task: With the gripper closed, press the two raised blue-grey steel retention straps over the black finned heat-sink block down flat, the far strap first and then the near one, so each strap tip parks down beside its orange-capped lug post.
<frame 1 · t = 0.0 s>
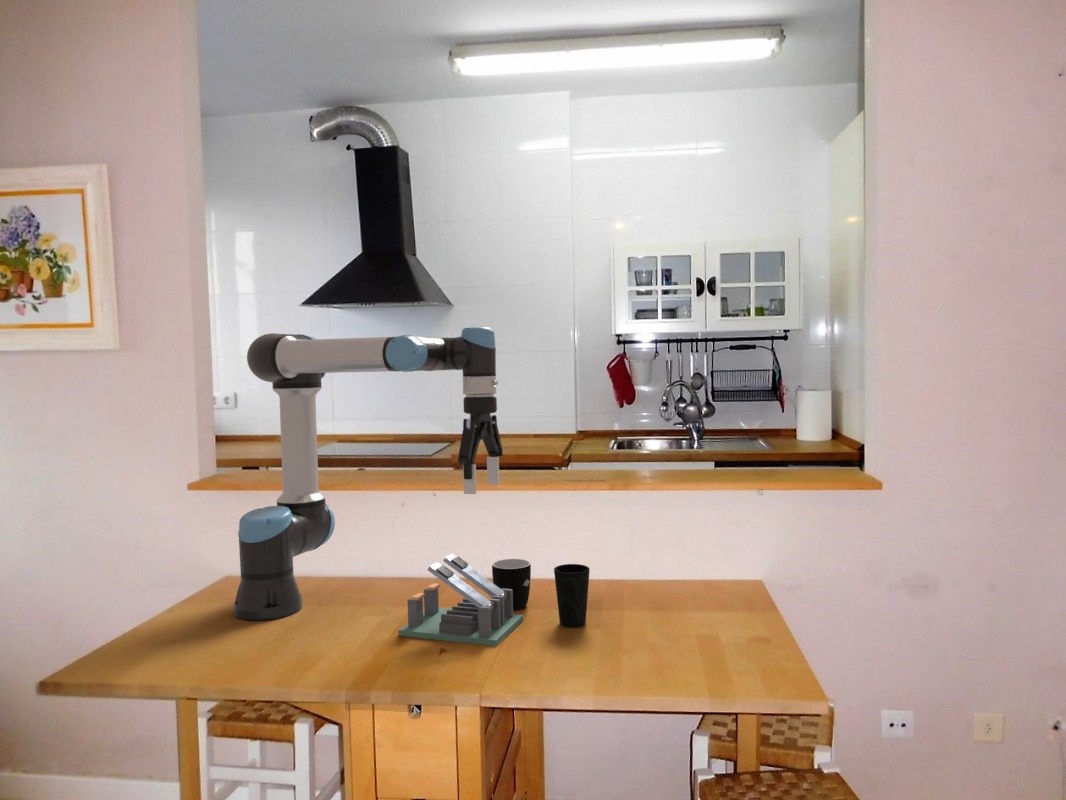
hand: (482, 489, 174), 28 cm above the table, fingers open, 13 cm apart
mug: (513, 605, 179), on the table
strap near: (462, 587, 159), point 10 cm above the table, hinge at 32.0°
strap far: (476, 577, 166), point 10 cm above the table, hinge at 32.0°
cup: (572, 624, 165), on the table
socket board: (462, 627, 163), on the table
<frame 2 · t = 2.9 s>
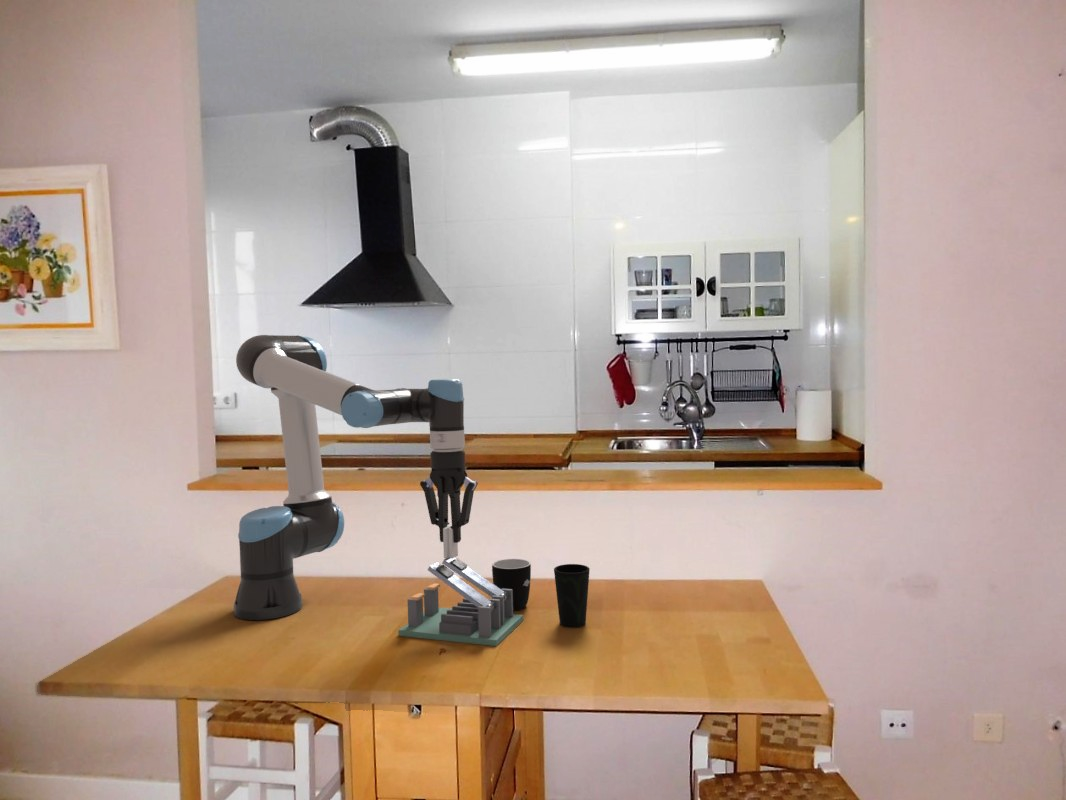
hand: (450, 556, 167), 14 cm above the table, fingers closed
strap far: (475, 578, 166), point 10 cm above the table, hinge at 29.8°, touching gripper
everything else where it was.
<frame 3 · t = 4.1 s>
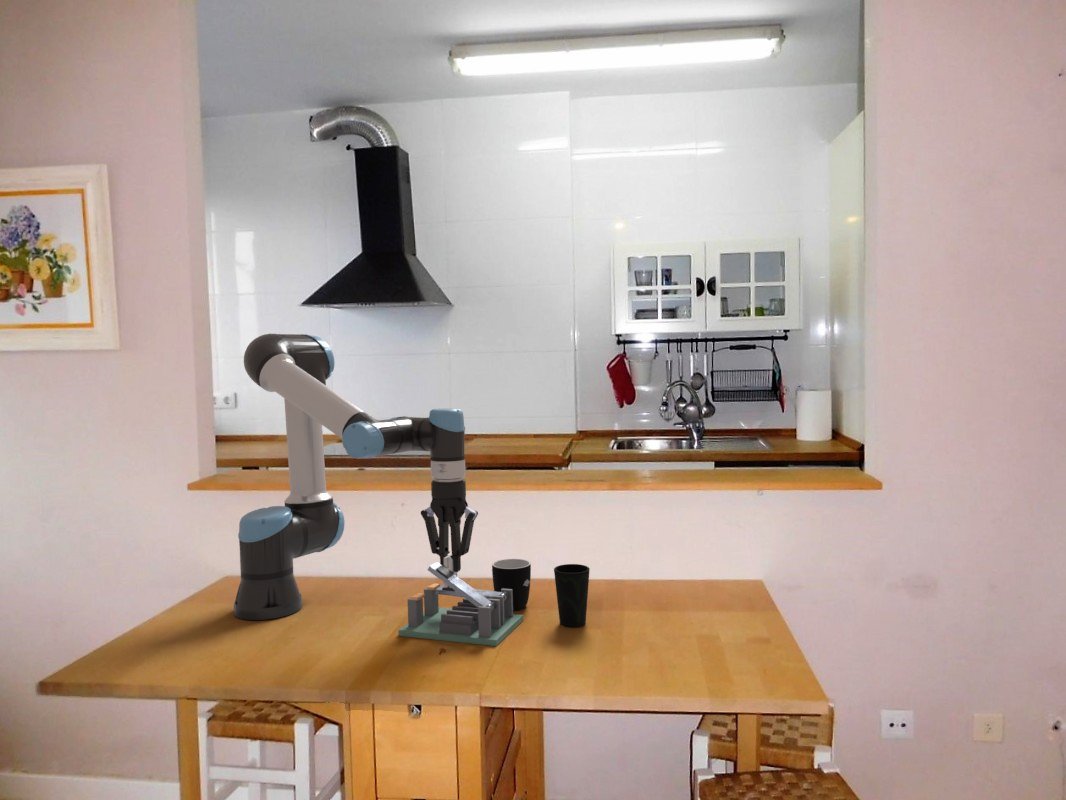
hand: (451, 585, 168), 8 cm above the table, fingers closed, pressing on strap far
strap far: (472, 593, 166), point 7 cm above the table, hinge at 2.5°, touching gripper
everything else where it was.
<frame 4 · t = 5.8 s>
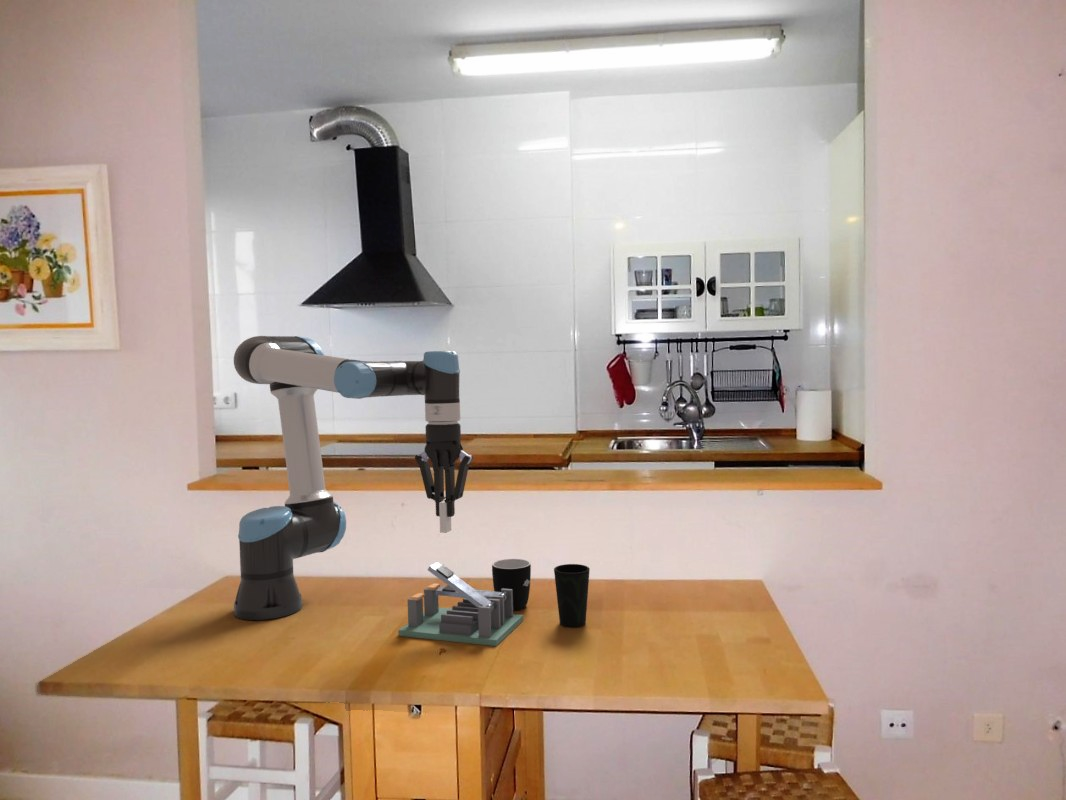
hand: (445, 531, 165), 20 cm above the table, fingers closed
strap far: (472, 593, 166), point 6 cm above the table, hinge at 1.6°
everything else where it was.
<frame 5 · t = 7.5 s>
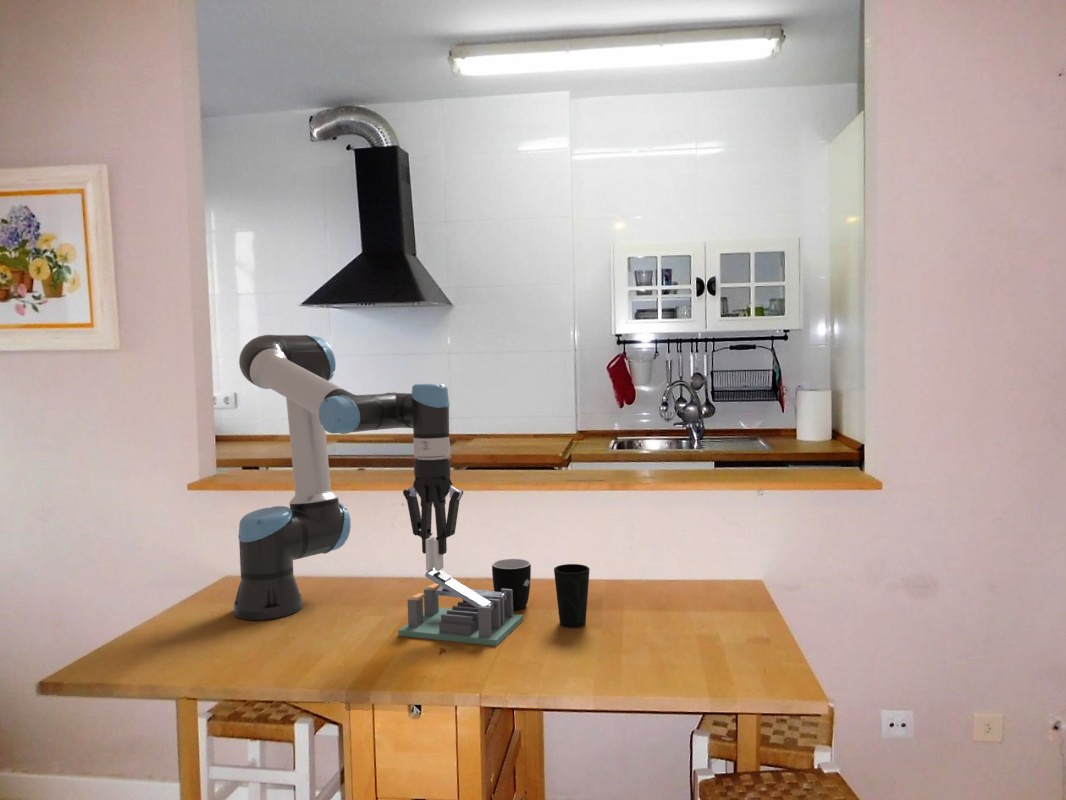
hand: (434, 569, 160), 14 cm above the table, fingers closed
strap near: (460, 590, 159), point 9 cm above the table, hinge at 26.3°, touching gripper
everything else where it was.
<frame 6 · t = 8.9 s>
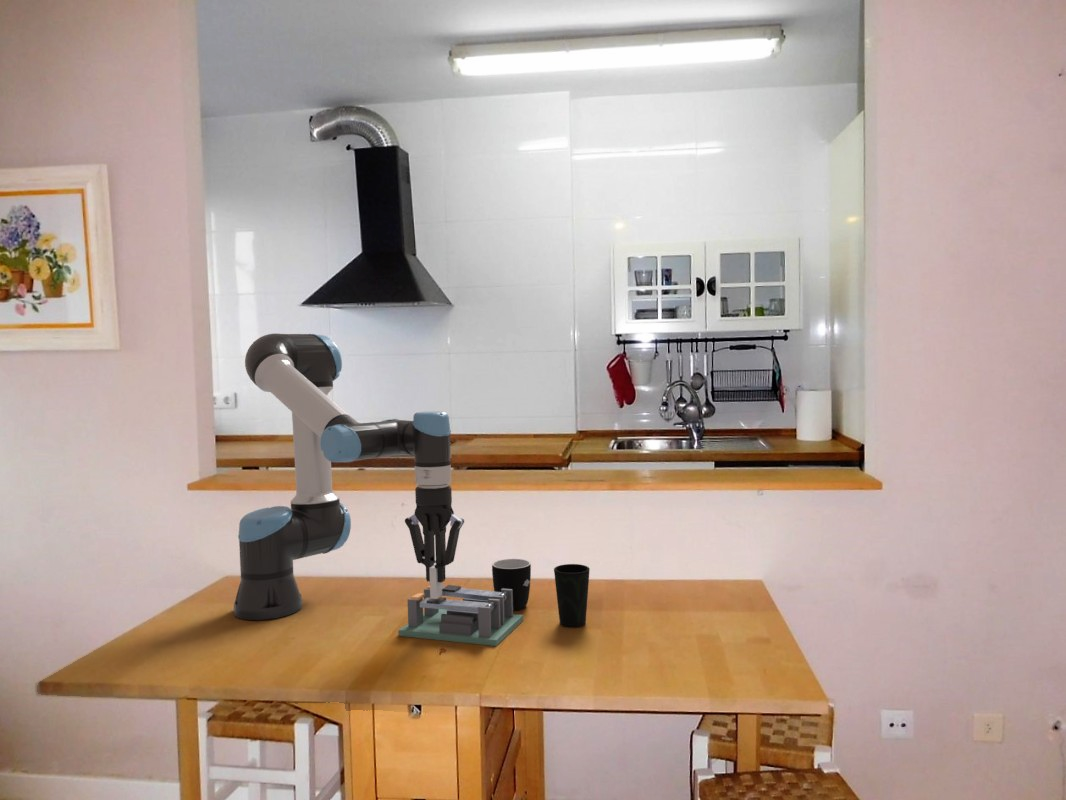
hand: (436, 596, 161), 8 cm above the table, fingers closed
strap near: (457, 605, 159), point 6 cm above the table, hinge at -0.1°
everything else where it was.
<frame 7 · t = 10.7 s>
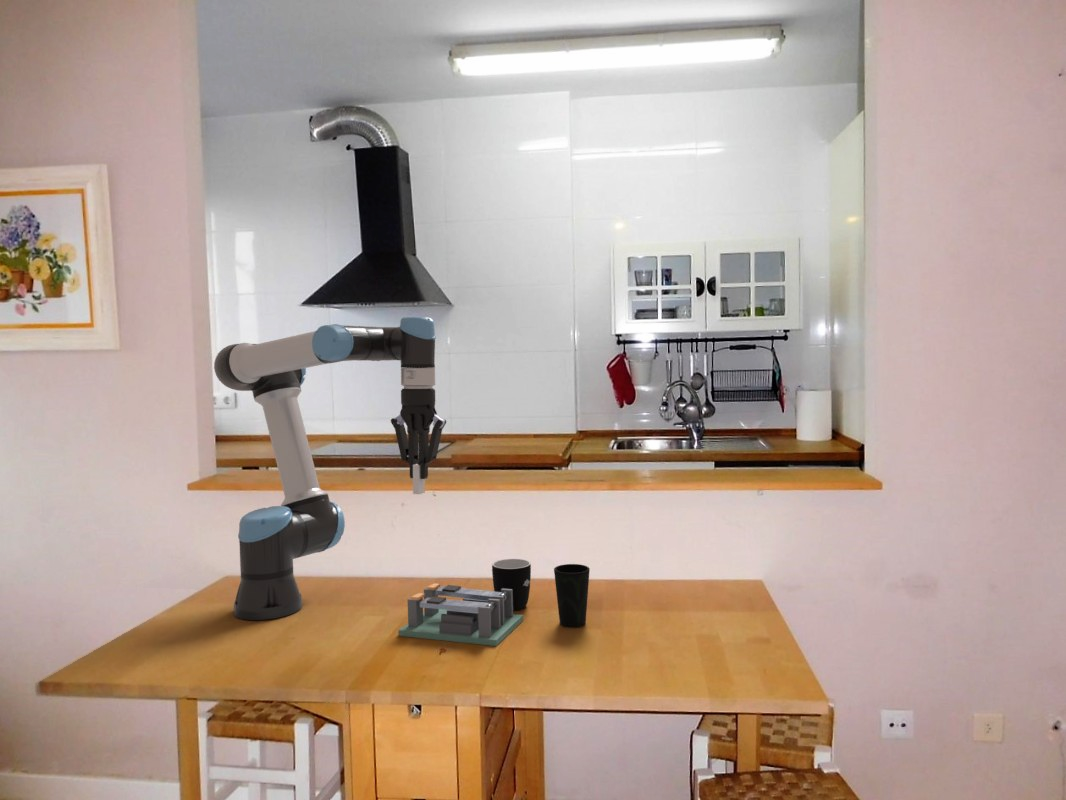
hand: (418, 493, 170), 28 cm above the table, fingers closed
nothing on the table moved.
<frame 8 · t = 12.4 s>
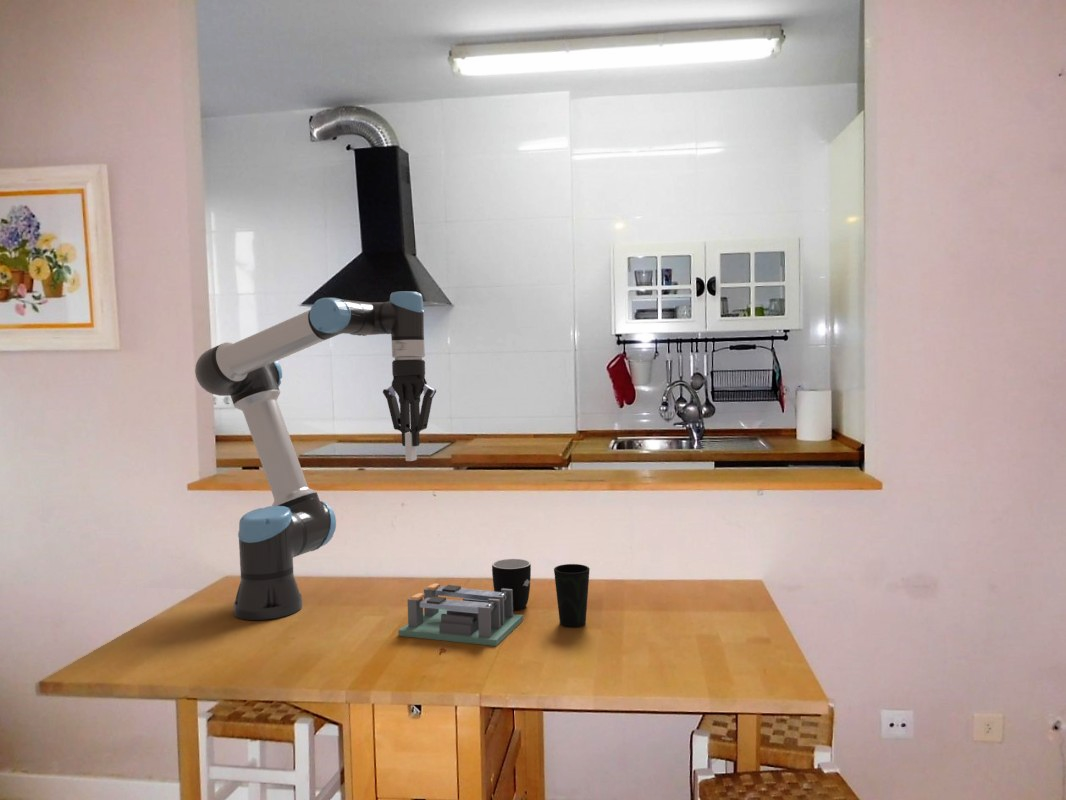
hand: (411, 460, 178), 34 cm above the table, fingers closed
nothing on the table moved.
at the end: strap far at +2° (first picture: +32°); strap near at +0° (first picture: +32°) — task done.
